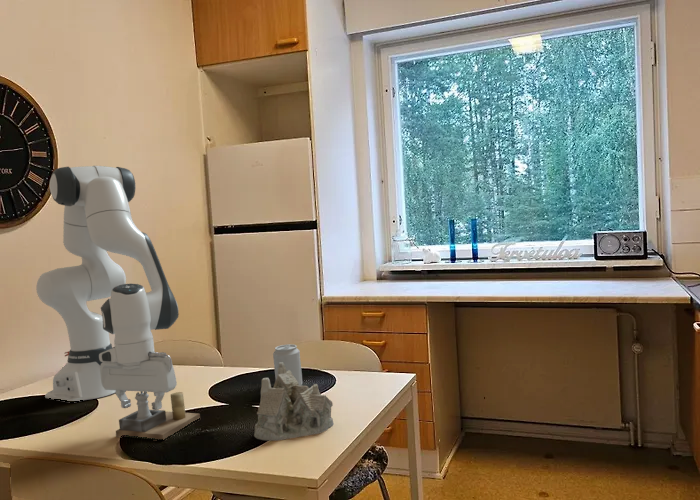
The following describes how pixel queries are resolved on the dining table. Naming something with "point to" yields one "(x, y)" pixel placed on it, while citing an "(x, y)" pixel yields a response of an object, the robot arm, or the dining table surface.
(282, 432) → the ceramic cottage
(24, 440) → the dining table surface
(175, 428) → the carrier plate
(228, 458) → the dining table surface
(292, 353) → the can
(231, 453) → the dining table surface
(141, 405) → the rook chess piece
